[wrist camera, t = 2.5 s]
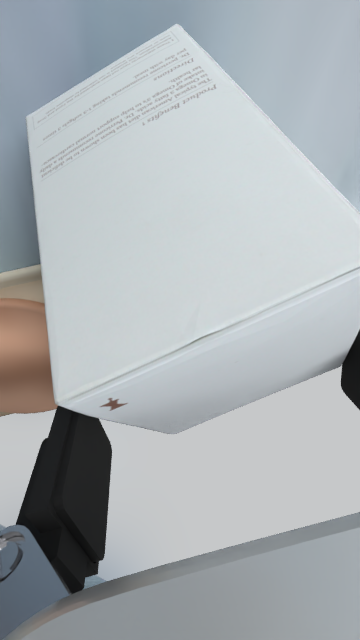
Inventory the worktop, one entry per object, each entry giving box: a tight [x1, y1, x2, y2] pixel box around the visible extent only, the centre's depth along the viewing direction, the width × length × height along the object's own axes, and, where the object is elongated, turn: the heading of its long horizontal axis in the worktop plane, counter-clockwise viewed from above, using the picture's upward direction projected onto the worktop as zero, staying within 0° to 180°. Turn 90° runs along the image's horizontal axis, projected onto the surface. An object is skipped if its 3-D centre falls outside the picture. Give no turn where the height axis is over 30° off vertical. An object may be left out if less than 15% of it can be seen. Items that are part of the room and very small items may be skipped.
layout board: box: [0, 264, 58, 417], centre depth 21 cm, size 11×26×3 cm, turn 99°
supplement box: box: [26, 24, 360, 434], centre depth 12 cm, size 7×7×13 cm
